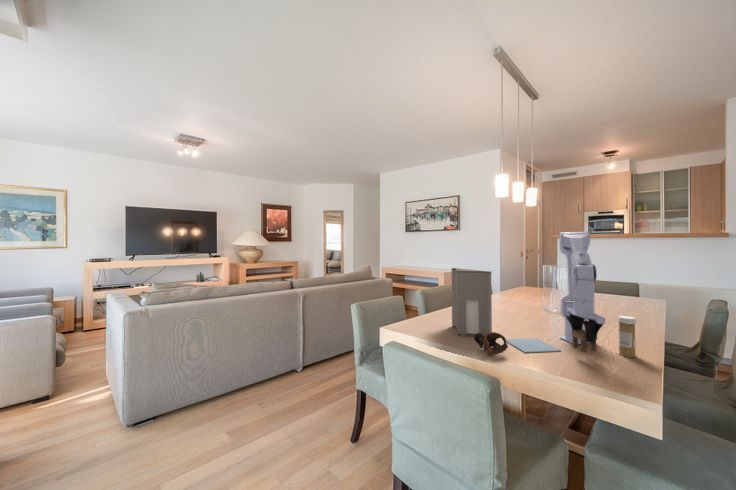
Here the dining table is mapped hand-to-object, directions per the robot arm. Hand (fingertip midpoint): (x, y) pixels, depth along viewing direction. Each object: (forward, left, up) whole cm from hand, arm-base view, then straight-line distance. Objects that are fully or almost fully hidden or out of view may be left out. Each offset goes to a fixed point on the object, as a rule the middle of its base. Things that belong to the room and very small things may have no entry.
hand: (584, 339), depth 102 cm
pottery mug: (+29, -10, -7) cm, 31 cm away
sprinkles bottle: (-17, -1, -7) cm, 18 cm away
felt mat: (+10, -14, -7) cm, 18 cm away
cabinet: (+29, -32, -7) cm, 44 cm away
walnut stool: (0, 0, -3) cm, 3 cm away
